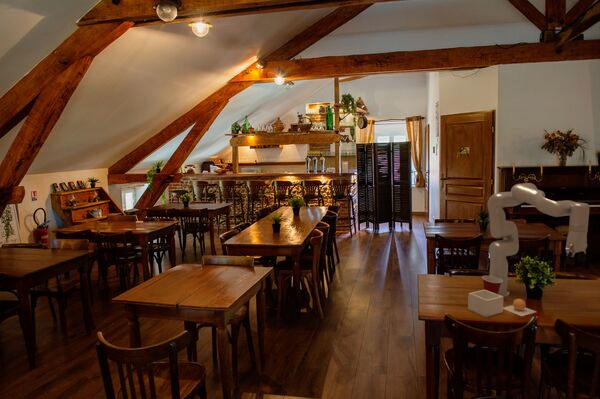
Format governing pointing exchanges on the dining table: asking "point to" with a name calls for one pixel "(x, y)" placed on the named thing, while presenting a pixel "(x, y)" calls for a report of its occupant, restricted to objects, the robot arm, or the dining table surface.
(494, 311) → the white open box
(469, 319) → the dining table surface
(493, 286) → the plastic cup
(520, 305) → the ball
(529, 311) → the mat
